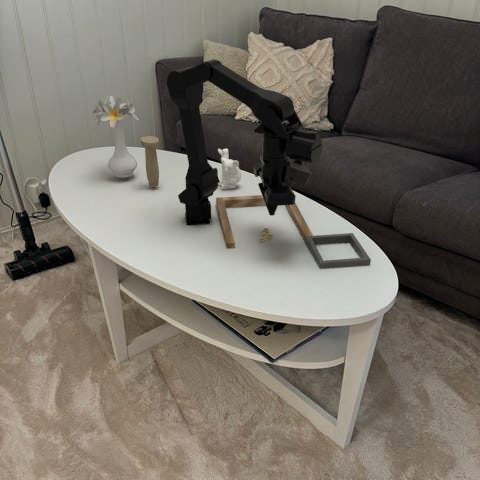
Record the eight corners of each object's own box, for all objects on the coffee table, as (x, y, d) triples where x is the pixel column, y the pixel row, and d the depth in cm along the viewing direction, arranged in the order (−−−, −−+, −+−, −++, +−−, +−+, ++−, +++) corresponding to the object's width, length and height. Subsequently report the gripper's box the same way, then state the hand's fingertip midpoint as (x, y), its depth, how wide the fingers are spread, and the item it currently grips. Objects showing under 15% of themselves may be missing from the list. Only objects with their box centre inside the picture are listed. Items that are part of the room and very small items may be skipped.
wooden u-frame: (226, 252, 116) (226, 243, 114) (216, 205, 137) (216, 197, 135) (313, 245, 119) (314, 237, 117) (289, 201, 140) (290, 193, 138)
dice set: (266, 233, 125) (267, 227, 124) (277, 242, 121) (277, 236, 120) (250, 238, 122) (250, 232, 121) (260, 247, 119) (260, 241, 118)
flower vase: (130, 160, 165) (122, 87, 152) (151, 179, 151) (144, 101, 138) (94, 167, 159) (82, 93, 146) (112, 188, 145) (100, 107, 132)
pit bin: (319, 274, 108) (320, 263, 107) (305, 246, 118) (306, 236, 117) (368, 270, 110) (370, 259, 108) (351, 243, 120) (352, 233, 118)
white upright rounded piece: (211, 185, 148) (210, 149, 142) (228, 179, 152) (228, 144, 146) (228, 194, 143) (228, 157, 136) (245, 188, 146) (245, 152, 140)
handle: (151, 190, 144) (147, 144, 136) (142, 183, 149) (137, 138, 141) (165, 187, 147) (161, 141, 139) (156, 180, 151) (151, 134, 143)
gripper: (321, 168, 99) (314, 231, 107) (298, 138, 115) (294, 195, 123) (269, 171, 98) (266, 235, 106) (254, 140, 113) (252, 198, 122)
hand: (271, 214), depth 114 cm, fingers closed
